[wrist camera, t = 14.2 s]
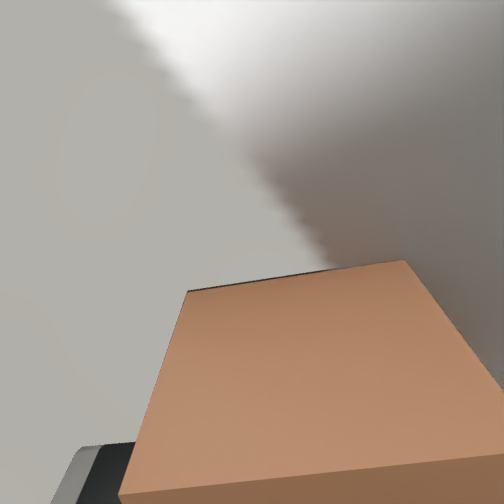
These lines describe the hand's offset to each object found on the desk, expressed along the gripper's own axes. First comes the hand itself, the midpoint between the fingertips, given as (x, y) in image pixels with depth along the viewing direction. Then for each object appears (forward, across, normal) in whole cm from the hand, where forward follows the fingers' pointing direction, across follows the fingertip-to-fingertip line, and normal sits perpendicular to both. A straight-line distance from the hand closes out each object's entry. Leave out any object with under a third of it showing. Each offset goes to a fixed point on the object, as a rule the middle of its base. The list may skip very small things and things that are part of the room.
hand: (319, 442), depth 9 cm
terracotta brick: (+2, 0, 0) cm, 2 cm away
